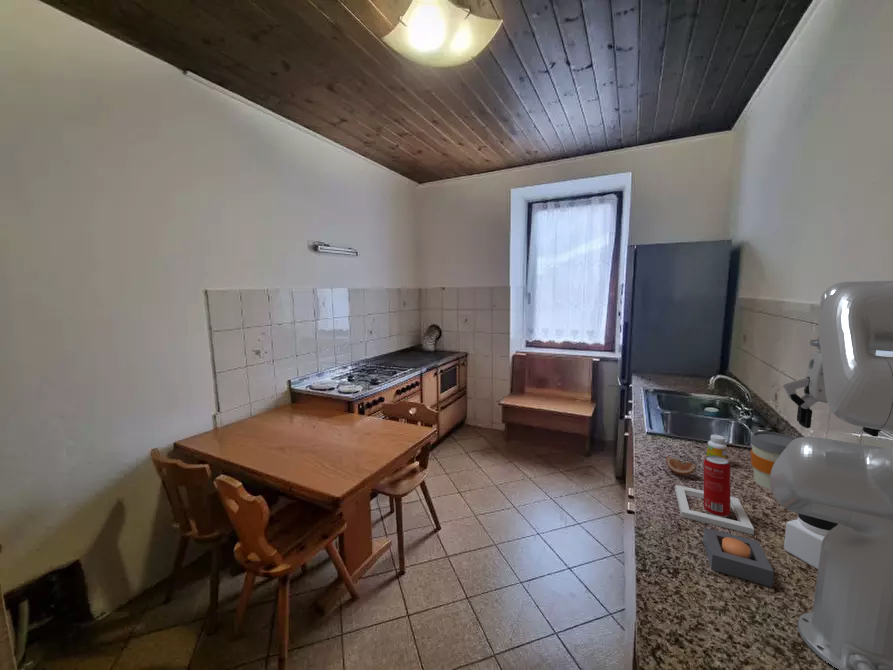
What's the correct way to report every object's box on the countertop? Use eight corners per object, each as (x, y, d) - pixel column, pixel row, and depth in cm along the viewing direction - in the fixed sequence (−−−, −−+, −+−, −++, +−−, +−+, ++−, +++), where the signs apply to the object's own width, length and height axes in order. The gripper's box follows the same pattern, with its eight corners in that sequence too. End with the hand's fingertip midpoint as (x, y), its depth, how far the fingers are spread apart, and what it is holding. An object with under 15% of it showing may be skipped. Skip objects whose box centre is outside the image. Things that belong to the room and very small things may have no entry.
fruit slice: (697, 475, 115) (698, 461, 114) (692, 483, 110) (694, 468, 110) (668, 466, 121) (669, 452, 120) (662, 473, 116) (663, 459, 116)
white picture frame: (753, 534, 86) (754, 529, 86) (681, 516, 93) (681, 511, 93) (737, 502, 100) (737, 497, 99) (675, 489, 106) (675, 484, 106)
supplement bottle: (702, 461, 124) (704, 435, 123) (711, 458, 127) (713, 432, 125) (719, 468, 119) (722, 441, 118) (728, 464, 122) (731, 438, 121)
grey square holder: (772, 587, 71) (773, 571, 70) (711, 569, 75) (712, 554, 75) (756, 555, 80) (758, 540, 79) (702, 540, 84) (704, 527, 84)
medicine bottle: (822, 572, 74) (829, 520, 73) (782, 549, 81) (788, 501, 80) (844, 566, 76) (851, 514, 75) (803, 543, 83) (809, 496, 82)
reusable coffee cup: (736, 477, 113) (741, 433, 112) (764, 472, 117) (769, 429, 115) (782, 498, 101) (788, 449, 100) (812, 492, 105) (818, 444, 103)
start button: (752, 566, 74) (753, 555, 74) (724, 558, 76) (725, 548, 76) (745, 551, 78) (747, 541, 78) (719, 544, 81) (720, 534, 80)
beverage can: (734, 519, 92) (739, 465, 90) (706, 516, 94) (711, 463, 92) (722, 506, 98) (727, 455, 96) (696, 503, 99) (700, 453, 98)
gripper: (797, 346, 70) (788, 428, 71) (926, 352, 62) (913, 444, 64) (781, 342, 76) (773, 418, 78) (896, 347, 69) (884, 431, 71)
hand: (836, 430), depth 71 cm, fingers open, 9 cm apart
